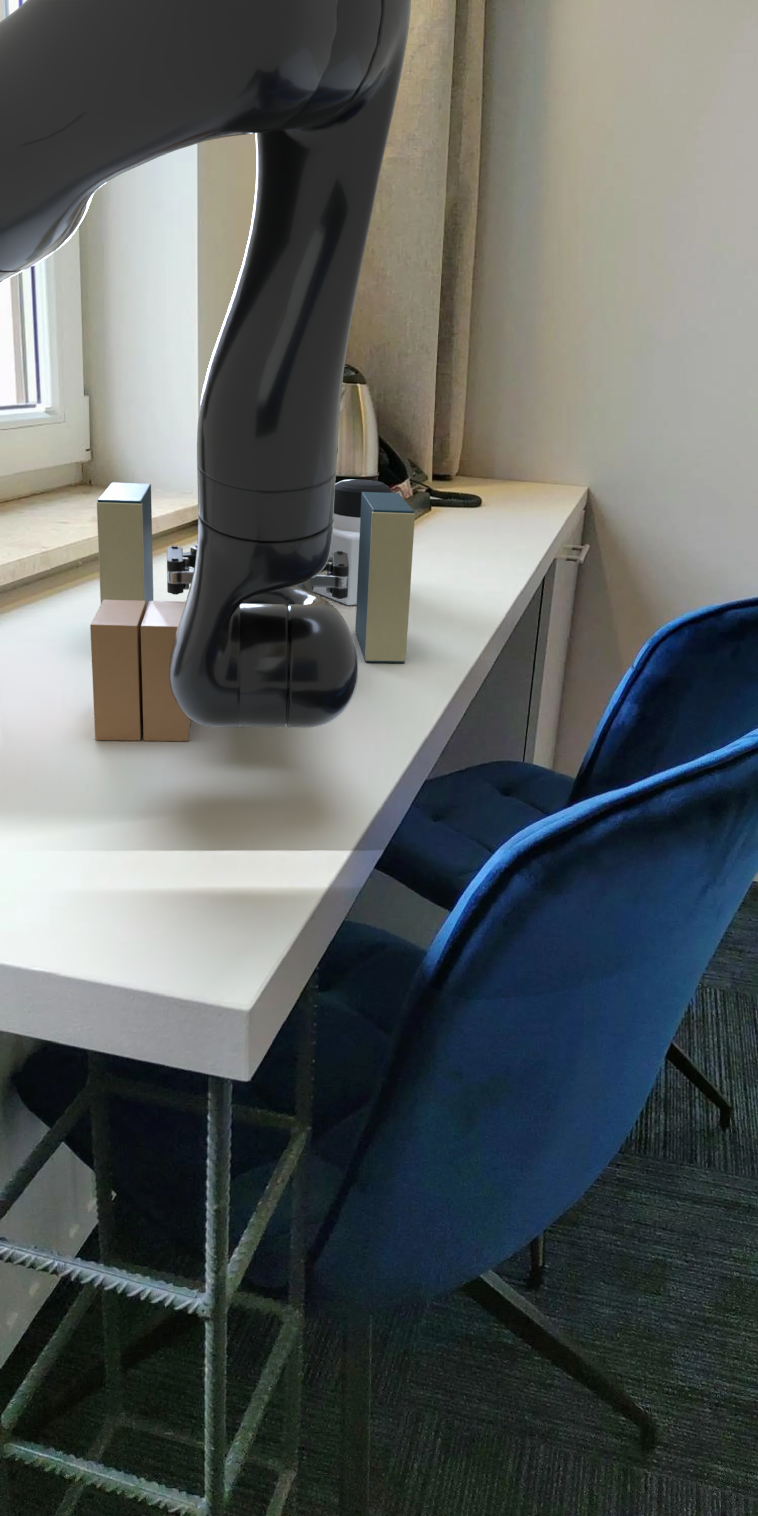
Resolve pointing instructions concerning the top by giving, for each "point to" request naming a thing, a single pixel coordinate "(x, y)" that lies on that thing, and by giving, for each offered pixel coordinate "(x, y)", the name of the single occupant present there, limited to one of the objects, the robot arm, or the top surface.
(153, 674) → the tan book
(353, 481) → the medicine bottle
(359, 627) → the teal book
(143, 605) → the tan book
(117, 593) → the teal book
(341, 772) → the top surface
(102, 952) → the top surface
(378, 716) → the top surface
